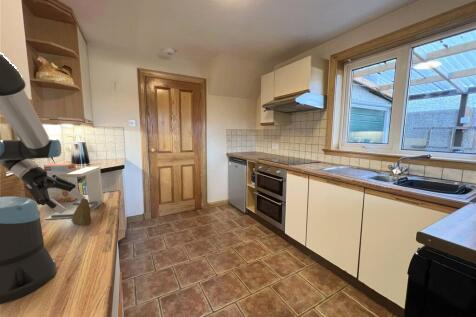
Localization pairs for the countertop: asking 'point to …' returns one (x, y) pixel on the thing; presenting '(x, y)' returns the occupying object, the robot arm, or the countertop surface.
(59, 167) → the cracker box
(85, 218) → the rock
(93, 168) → the shelf unit
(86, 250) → the countertop surface
